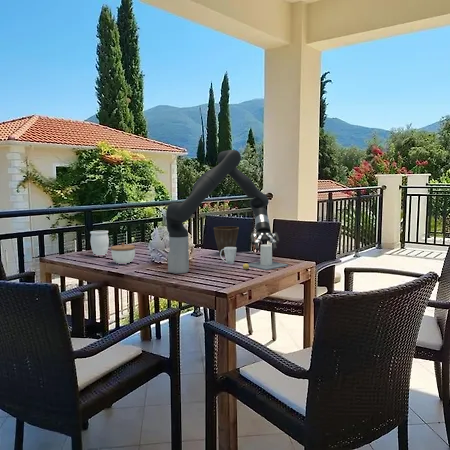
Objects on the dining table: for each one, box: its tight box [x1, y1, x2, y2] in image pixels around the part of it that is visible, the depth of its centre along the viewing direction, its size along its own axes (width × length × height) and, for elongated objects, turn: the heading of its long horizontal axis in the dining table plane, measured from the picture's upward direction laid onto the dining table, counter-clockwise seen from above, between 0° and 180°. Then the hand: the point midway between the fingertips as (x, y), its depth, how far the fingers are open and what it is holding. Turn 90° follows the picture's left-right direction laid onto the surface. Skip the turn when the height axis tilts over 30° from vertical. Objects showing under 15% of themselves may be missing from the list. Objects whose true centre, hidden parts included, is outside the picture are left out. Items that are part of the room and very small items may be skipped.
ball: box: [242, 263, 250, 270], centre depth 207 cm, size 3×3×3 cm
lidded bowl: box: [110, 242, 136, 264], centre depth 227 cm, size 13×13×11 cm
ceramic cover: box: [260, 243, 273, 266], centre depth 216 cm, size 6×6×10 cm
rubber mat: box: [247, 261, 289, 271], centre depth 216 cm, size 16×16×1 cm
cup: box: [219, 246, 238, 264], centre depth 226 cm, size 7×10×8 cm
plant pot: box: [213, 225, 240, 256], centre depth 250 cm, size 15×15×16 cm
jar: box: [89, 229, 110, 255], centre depth 248 cm, size 11×10×15 cm
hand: (266, 249), depth 216 cm, fingers open, 8 cm apart
